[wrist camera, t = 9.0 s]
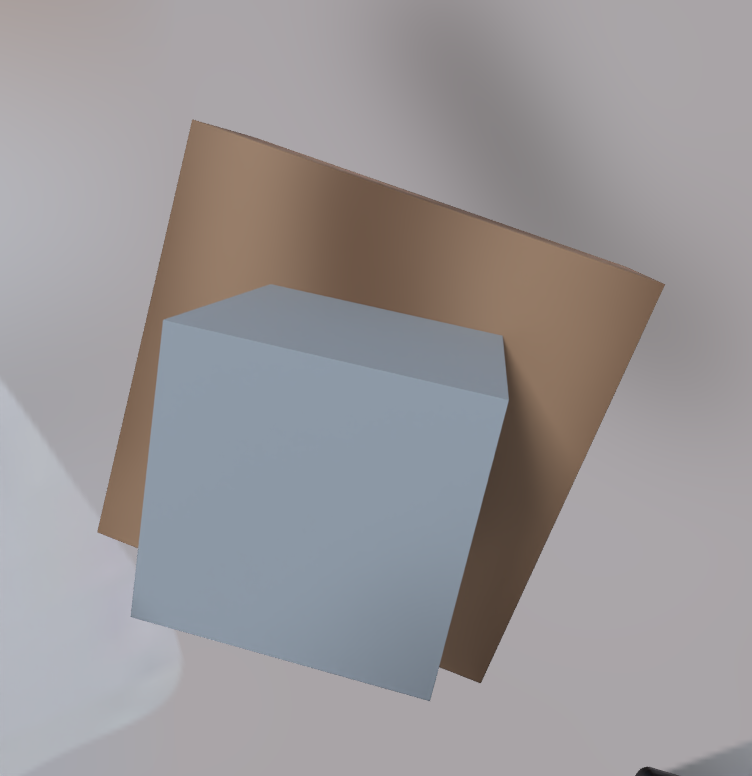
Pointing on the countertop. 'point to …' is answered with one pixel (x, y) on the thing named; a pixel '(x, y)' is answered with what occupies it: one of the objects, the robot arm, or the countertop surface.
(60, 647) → the countertop surface
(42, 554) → the countertop surface
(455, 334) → the slate cube
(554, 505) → the walnut block
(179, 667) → the countertop surface
